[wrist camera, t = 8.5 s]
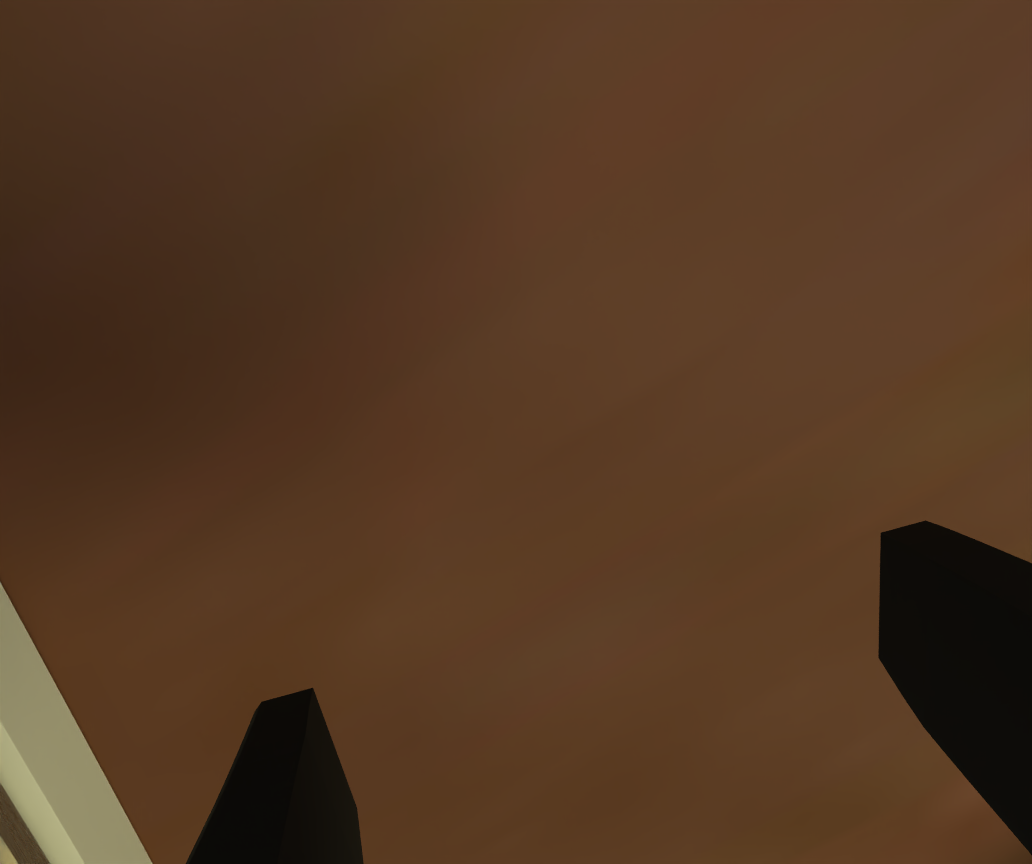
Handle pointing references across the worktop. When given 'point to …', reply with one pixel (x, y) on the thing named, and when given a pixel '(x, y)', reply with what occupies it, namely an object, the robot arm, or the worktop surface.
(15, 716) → the scale
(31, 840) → the scale pan
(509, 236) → the worktop surface
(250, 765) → the robot arm
